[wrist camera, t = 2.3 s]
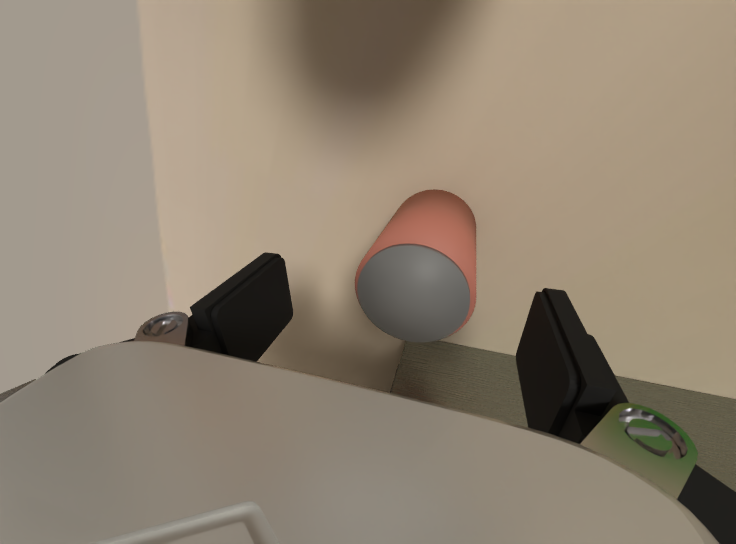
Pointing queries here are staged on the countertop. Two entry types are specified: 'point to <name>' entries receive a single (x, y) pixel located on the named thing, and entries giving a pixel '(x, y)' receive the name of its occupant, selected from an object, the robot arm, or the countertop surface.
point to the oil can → (421, 269)
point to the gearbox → (505, 402)
